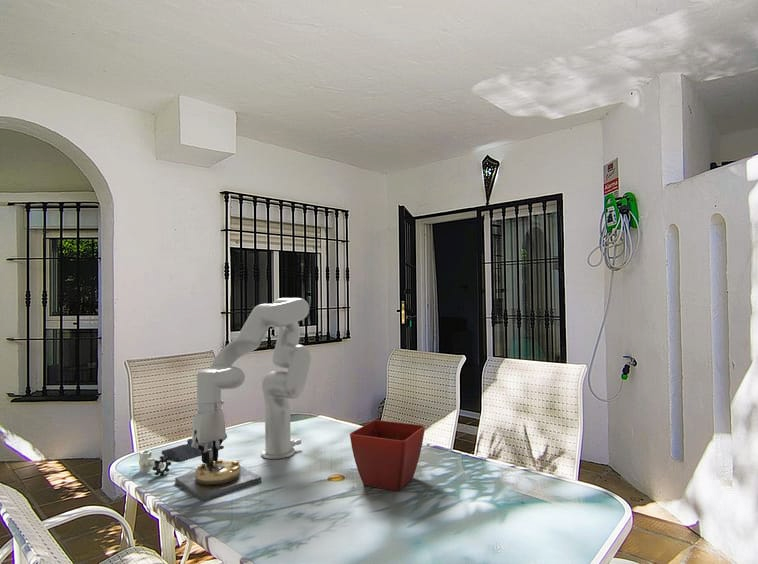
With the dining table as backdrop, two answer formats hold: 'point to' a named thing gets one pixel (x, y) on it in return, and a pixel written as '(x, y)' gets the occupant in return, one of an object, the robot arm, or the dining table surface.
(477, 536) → the dining table surface
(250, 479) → the housing
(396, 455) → the plant pot
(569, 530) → the dining table surface
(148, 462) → the valve
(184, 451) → the dark slate chunk
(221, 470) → the brass crank wheel
